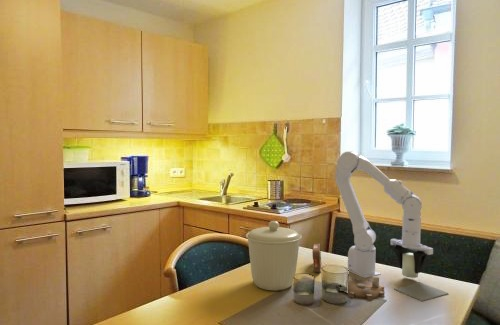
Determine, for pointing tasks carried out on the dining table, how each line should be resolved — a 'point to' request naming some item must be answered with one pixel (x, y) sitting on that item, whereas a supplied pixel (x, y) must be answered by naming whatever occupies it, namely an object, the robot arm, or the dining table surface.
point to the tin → (316, 258)
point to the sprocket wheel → (365, 288)
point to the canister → (273, 256)
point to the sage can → (408, 265)
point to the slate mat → (421, 291)
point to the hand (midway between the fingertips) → (410, 270)
